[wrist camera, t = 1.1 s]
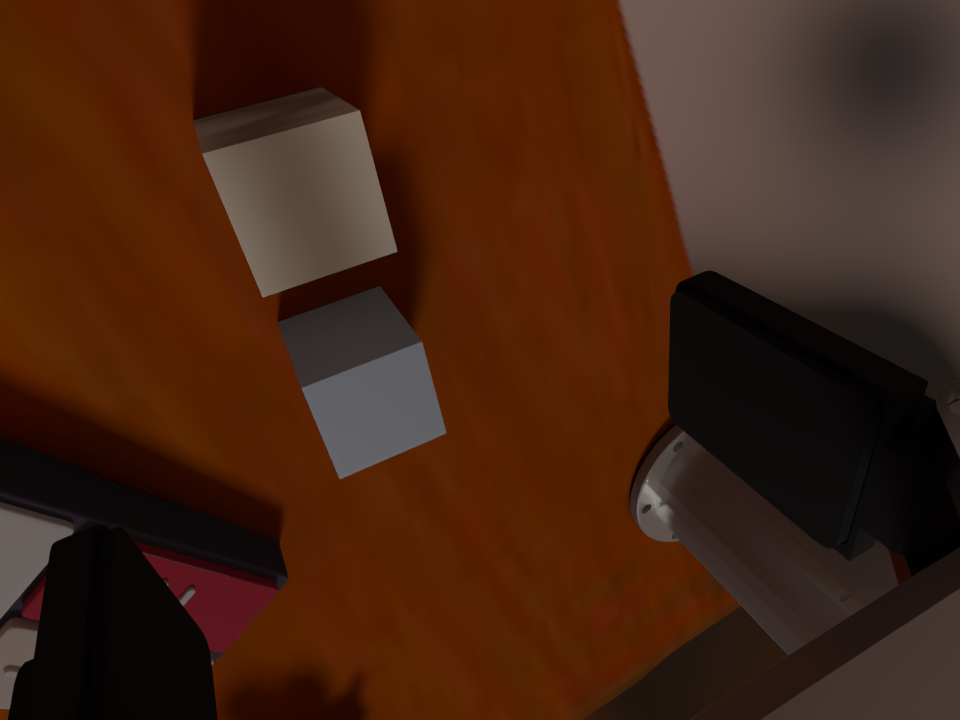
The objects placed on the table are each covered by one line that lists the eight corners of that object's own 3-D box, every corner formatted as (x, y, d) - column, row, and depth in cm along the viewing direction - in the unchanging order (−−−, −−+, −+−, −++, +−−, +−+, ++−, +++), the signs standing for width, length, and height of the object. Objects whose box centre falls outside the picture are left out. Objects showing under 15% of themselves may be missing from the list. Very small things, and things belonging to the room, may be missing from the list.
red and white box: (163, 734, 33) (-209, 706, 23) (159, 665, 36) (-170, 614, 27) (296, 588, 32) (-34, 495, 22) (279, 530, 35) (-16, 427, 26)
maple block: (321, 86, 25) (360, 110, 20) (356, 206, 27) (397, 251, 23) (192, 120, 23) (202, 153, 19) (243, 241, 26) (262, 297, 22)
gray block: (379, 285, 30) (421, 341, 25) (404, 368, 33) (446, 433, 28) (277, 321, 29) (301, 388, 24) (312, 405, 31) (340, 479, 27)
